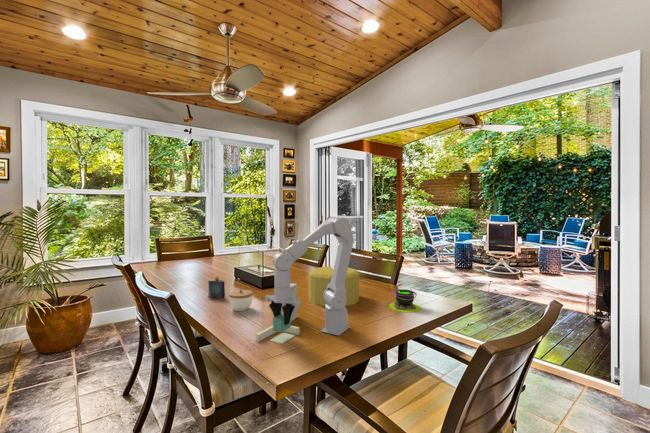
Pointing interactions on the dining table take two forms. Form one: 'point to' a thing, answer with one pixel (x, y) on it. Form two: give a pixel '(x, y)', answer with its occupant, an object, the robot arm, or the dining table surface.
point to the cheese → (323, 277)
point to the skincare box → (294, 295)
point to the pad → (282, 338)
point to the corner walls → (270, 331)
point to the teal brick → (280, 323)
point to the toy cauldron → (404, 301)
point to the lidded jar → (240, 299)
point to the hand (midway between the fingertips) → (282, 323)
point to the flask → (216, 288)
